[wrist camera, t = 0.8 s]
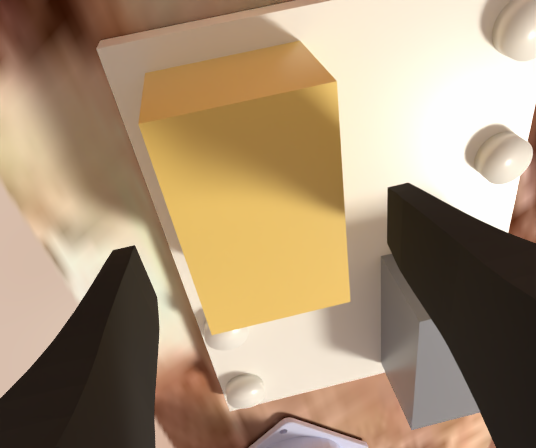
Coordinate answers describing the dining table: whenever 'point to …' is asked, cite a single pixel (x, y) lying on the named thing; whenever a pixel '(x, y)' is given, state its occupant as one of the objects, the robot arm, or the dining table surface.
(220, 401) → the dining table surface
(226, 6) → the dining table surface
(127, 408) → the robot arm
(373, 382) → the dining table surface
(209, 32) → the baseplate
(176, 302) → the dining table surface
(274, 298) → the top brick
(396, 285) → the base brick
